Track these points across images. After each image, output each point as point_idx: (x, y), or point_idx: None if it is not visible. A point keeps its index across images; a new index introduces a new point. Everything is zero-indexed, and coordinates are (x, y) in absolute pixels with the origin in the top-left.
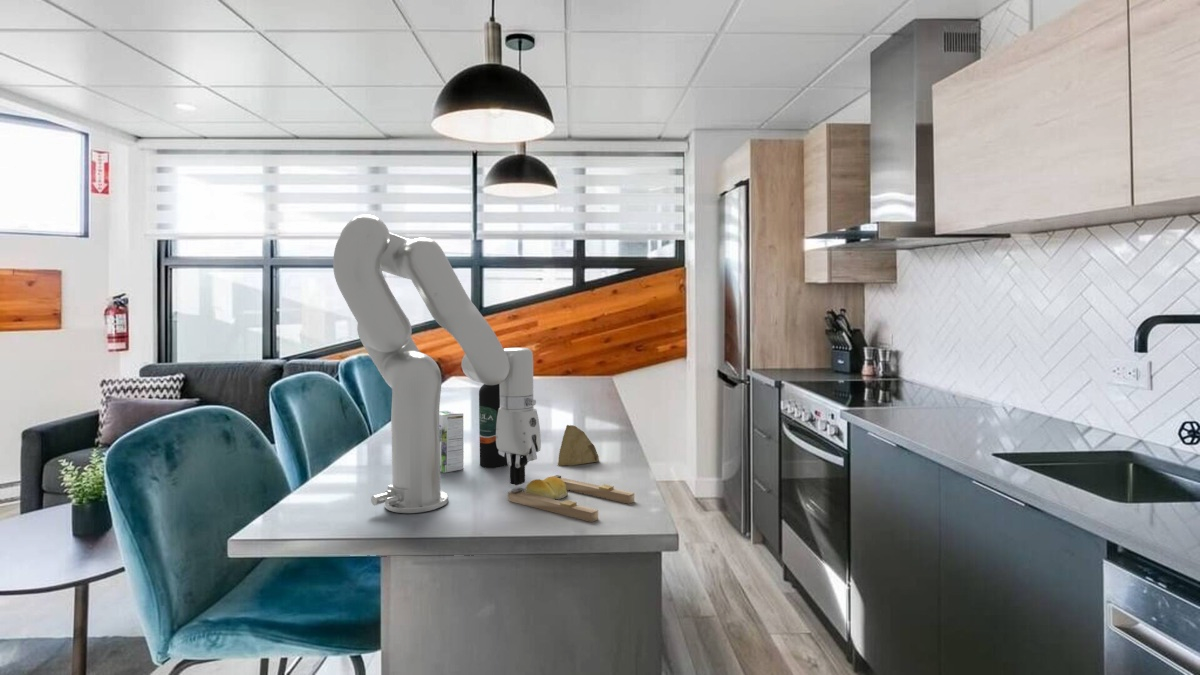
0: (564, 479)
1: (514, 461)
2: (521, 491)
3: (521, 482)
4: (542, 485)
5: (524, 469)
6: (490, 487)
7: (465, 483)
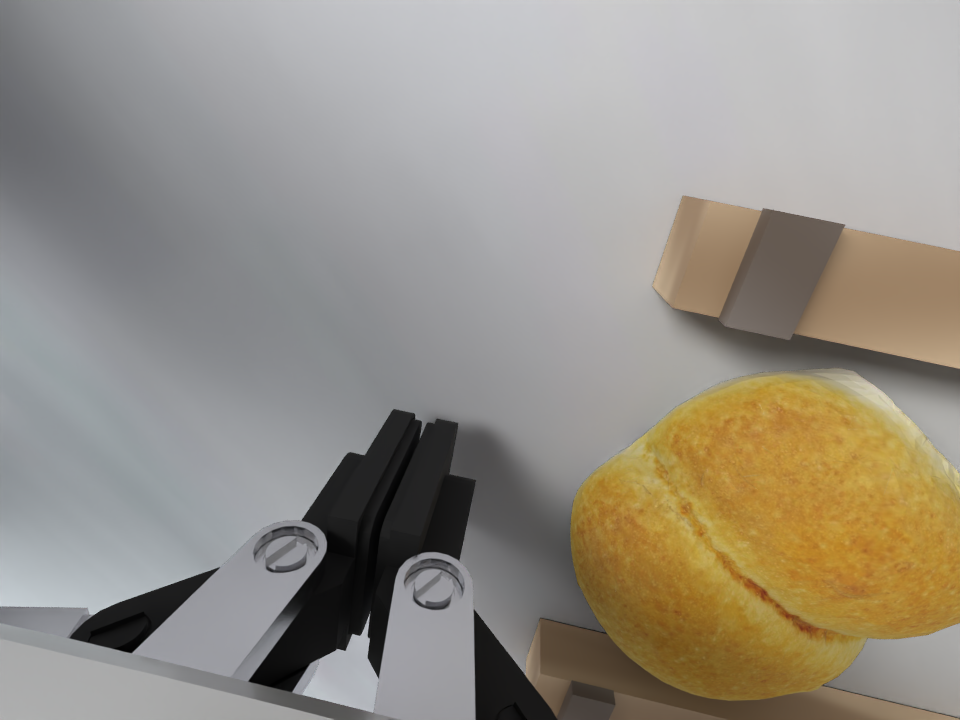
0: (902, 286)
1: (302, 643)
2: (611, 698)
3: (450, 462)
4: (785, 684)
5: (459, 551)
6: (239, 482)
7: (31, 462)
